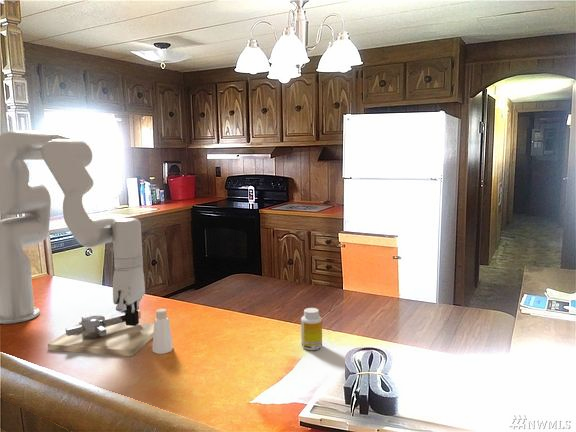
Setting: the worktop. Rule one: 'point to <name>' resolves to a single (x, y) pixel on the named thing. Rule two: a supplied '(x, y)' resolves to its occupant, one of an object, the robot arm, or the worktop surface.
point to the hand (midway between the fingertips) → (132, 324)
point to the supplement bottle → (311, 329)
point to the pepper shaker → (162, 333)
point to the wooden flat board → (108, 340)
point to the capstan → (96, 325)
